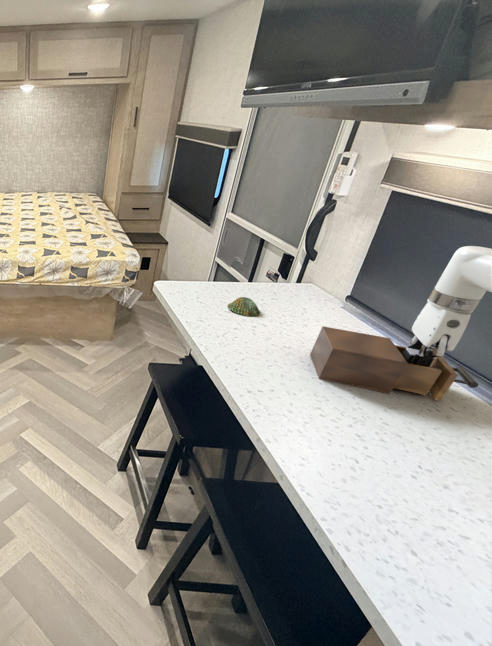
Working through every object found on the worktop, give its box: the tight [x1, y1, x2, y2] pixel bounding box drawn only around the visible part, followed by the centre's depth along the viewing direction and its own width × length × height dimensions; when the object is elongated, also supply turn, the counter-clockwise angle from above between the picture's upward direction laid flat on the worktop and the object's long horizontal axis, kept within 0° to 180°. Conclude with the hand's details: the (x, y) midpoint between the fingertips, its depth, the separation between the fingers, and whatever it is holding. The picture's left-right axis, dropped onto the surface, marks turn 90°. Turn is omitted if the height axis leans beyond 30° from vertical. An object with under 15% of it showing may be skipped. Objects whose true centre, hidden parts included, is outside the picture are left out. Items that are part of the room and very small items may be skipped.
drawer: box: [393, 344, 479, 402], centre depth 100 cm, size 19×11×8 cm, turn 63°
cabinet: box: [309, 326, 408, 395], centre depth 105 cm, size 15×13×10 cm
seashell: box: [227, 296, 261, 317], centre depth 140 cm, size 10×4×10 cm
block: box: [402, 348, 434, 366], centre depth 99 cm, size 4×3×4 cm
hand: (413, 364), depth 100 cm, fingers closed on block, 3 cm apart
